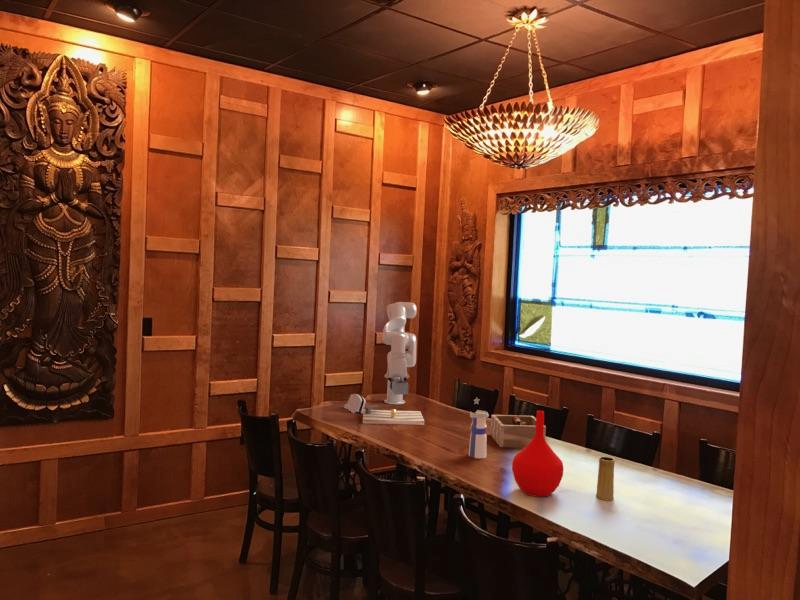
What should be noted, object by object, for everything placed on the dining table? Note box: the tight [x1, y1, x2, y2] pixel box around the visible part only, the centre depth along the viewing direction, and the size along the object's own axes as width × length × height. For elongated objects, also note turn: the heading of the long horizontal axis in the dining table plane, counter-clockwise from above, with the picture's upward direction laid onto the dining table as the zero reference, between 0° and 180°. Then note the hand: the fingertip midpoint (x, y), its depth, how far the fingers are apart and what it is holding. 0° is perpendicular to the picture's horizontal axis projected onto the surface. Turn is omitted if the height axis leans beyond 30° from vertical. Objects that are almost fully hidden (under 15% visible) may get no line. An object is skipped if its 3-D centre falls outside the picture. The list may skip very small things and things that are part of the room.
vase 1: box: [511, 410, 564, 498], centre depth 225 cm, size 18×18×30 cm
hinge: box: [343, 393, 367, 414], centre depth 348 cm, size 17×5×10 cm, turn 26°
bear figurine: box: [511, 415, 527, 425], centre depth 296 cm, size 14×15×12 cm
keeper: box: [364, 404, 380, 414], centre depth 336 cm, size 4×9×5 cm, turn 138°
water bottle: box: [468, 397, 490, 459], centre depth 268 cm, size 8×9×25 cm
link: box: [389, 378, 409, 395], centre depth 334 cm, size 20×7×6 cm, turn 16°
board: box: [362, 409, 425, 426], centre depth 331 cm, size 23×32×2 cm
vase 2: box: [595, 456, 615, 501], centre depth 222 cm, size 6×6×14 cm
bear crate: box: [489, 414, 547, 449], centre depth 295 cm, size 22×21×10 cm
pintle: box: [390, 408, 397, 418], centre depth 326 cm, size 2×2×6 cm
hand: (396, 389), depth 333 cm, fingers closed on link, 4 cm apart
